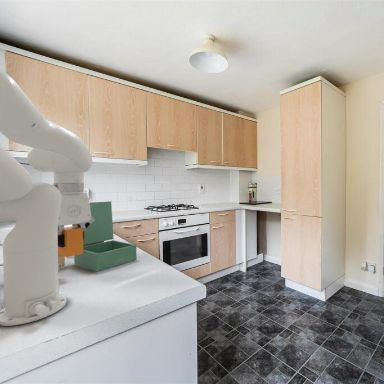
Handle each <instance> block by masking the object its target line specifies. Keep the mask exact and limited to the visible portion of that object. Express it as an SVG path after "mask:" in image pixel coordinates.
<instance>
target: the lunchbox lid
mask: <svg viewBox="0 0 384 384" xmlns="http://www.w3.org/2000/svg"><path fill="white" fill-rule="evenodd" d="M89 203H90V211H91V215H92V216H93V218H94V219H95V221H94V222H92V223H91V224H90V225H89V226H88V227H87V228H86V230H85V231H84V240H83V245H87V244H92V243H97V242H102V241H104V242H107V241H112V240H115V238H114V222H113V208H112V200H111V201H97V202H96V201H95V202H89ZM72 226H75V227H77V225H76V224H71V227H72Z"/></svg>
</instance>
